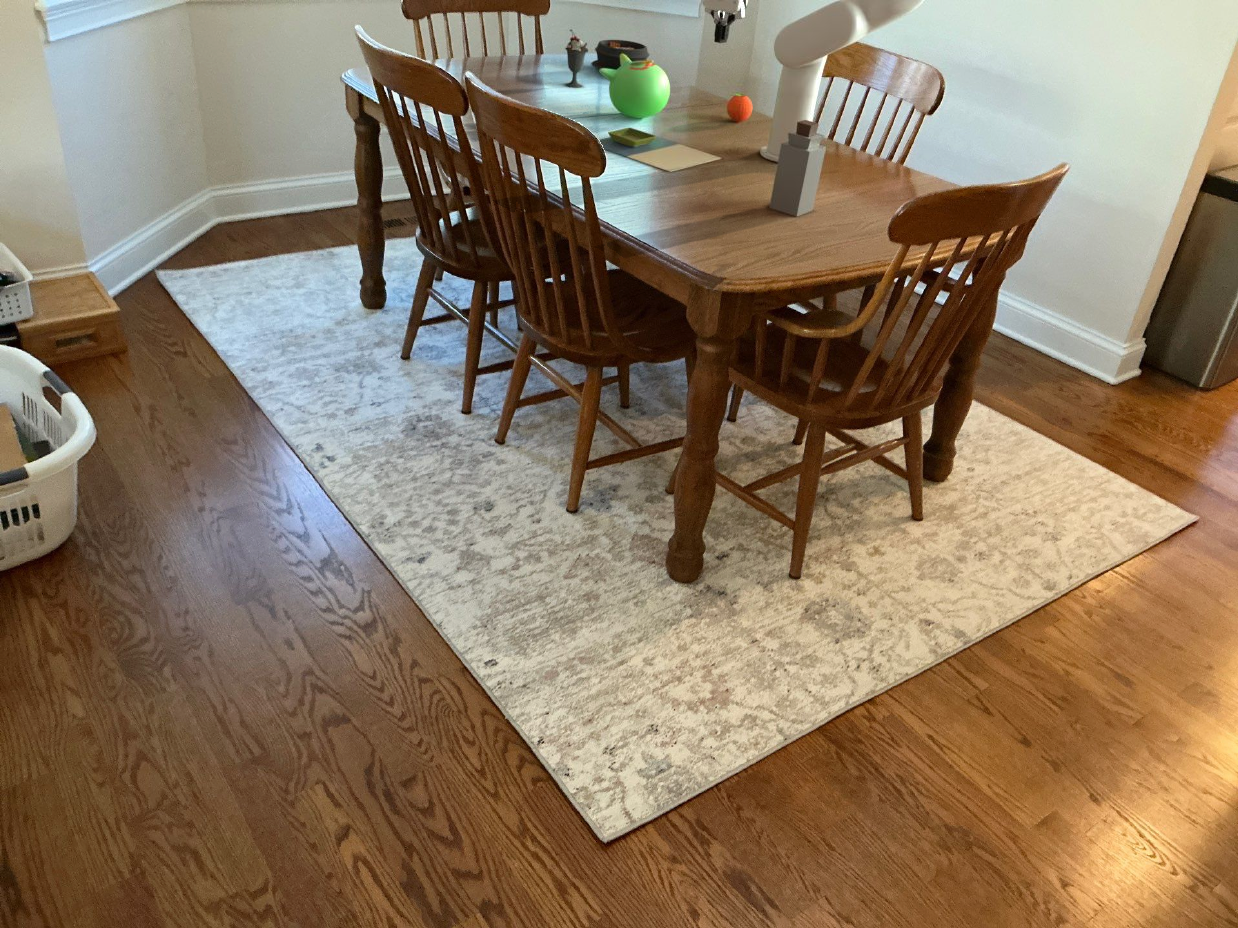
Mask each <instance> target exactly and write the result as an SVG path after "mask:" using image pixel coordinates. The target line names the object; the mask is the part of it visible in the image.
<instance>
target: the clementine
mask: <svg viewBox="0 0 1238 928" xmlns="http://www.w3.org/2000/svg"><path fill="white" fill-rule="evenodd" d="M728 97H731V98H730V99H729V101H728V102H727V105H726V112H727V115H728V117H729V118H730V119H731V120H732V121H734V122H737V123H738V122H739V123H740V122H744V121H745V120H747V119H749V118H750V116H751V115H752V112H753V103H752V101H751V99H750V98H749V97H748V96H747V95H744V94H743V93H742V94H739V93H735V94H734V93H733V94H731V95H728V96H727V98H728ZM727 98H725V99H724V101H726V100H727Z"/></svg>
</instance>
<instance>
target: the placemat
mask: <svg viewBox="0 0 1238 928" xmlns="http://www.w3.org/2000/svg"><path fill="white" fill-rule="evenodd" d="M598 140H600V142H601V144H602V145H603V148H604V149H603V150H605V151H608V152H611V153H614V154H616V155H619V156H622V157H625V158H628V159H632V160H634V161H637V162H640V163H643V164H646V165H647V166H648V165H649V166H651V167H654V168H656V169H660V170H663V171H666V172H668V173H672V172H675V171H679V170H683V169H687V168H691V167H695V166H699V165H702V164H706V163H710V162H715V161H718V160H722V157H720V156H716V155H713V154H711V153H708V152H704V151H702V150H699V149H696V148H692V147H689V146H686V145H683V144H680V143H677V142H674V141H672V140H668V139H665V138H663V137H658V136H656V138H655V139H654V140H653V141H652V142H650V143H649V144H646V145H642V146H638V147H630V146H627V145H624V144H621V143H618V142H615V141H614V140H613V139H612V138H611V137H610V136H609V137H605V138H600V139H598Z"/></svg>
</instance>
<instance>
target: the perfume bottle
mask: <svg viewBox="0 0 1238 928" xmlns="http://www.w3.org/2000/svg"><path fill="white" fill-rule="evenodd" d="M819 125H820V123H818V122H815V121H813V120H812V121H808V120H803V121H799V122H797V130H796V131H792V132H788V139H789V141H788V142H785V143H781V148H780V154H779V159H778V162H777V164H776V169H775V176H774V181H773V186H772V191H771V196H770V203H769V206H768V207H769V208H770V209H773V210H775V211H778V212H782V213H784V214H787V215H789V216H790V215H791V216H793V217H800V216H803V215H806V214H807V213H810V212H812V211H814V207H815V201H816V196H817V191H818V189H819V188H818V187H819V183H820V177H821V173H822V168H823V164H824V158H825V155H826V149H827V146H825V145H822V144H821V142H822V141H823V138H824V137H825V135H824V134H820V133H818V129H819Z"/></svg>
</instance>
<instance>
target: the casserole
mask: <svg viewBox="0 0 1238 928" xmlns="http://www.w3.org/2000/svg"><path fill="white" fill-rule="evenodd" d="M594 51H595V52H596V60H593V61H591V63H590V64H591V66H592V67H593V68H594V69H597V70H598V71H599V70H600V69H602V68H606V69H614V70H617V69H618V68H619V67H621V63H620V54H625V55H626V56H627V57H628V58H629V59H630V60H631V61H632V62H634V61H638V60H641V61H648V58H649V57H650V53H649V51H648V46H646V45H645V44H642V43H639V42H636V41H630V40H624V39H604V40H600V41H598V43H597V45H596V47H595V48H594Z"/></svg>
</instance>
